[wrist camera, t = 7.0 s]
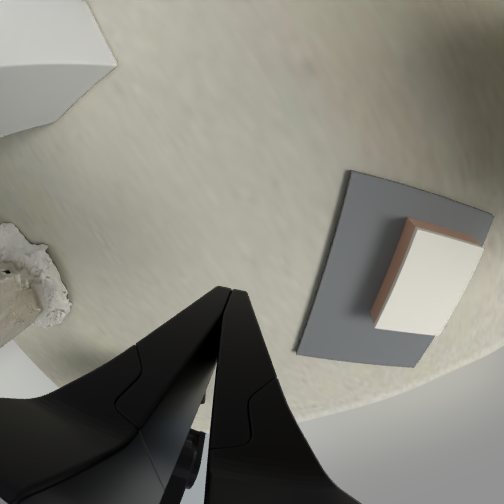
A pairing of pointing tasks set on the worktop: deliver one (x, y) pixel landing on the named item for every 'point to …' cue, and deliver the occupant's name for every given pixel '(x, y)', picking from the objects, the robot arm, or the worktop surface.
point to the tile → (425, 278)
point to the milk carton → (47, 60)
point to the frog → (28, 286)
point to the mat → (374, 270)
